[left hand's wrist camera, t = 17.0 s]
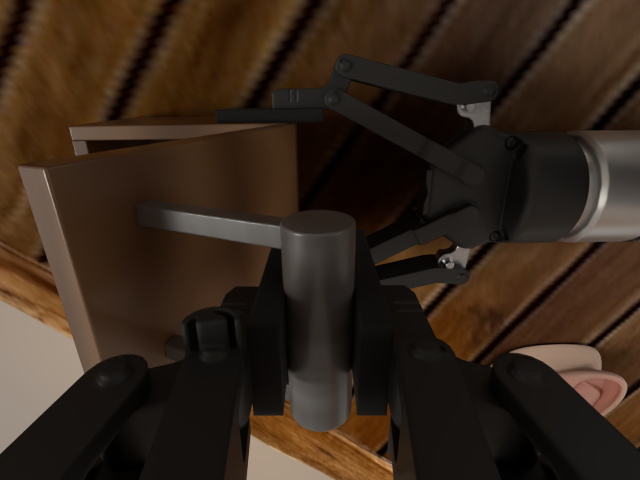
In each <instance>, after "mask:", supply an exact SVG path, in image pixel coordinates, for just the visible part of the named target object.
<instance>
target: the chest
mask: <svg viewBox="0 0 640 480" xmlns="http://www.w3.org/2000/svg"><path fill="white" fill-rule="evenodd" d="M275 124H294V125H295V138H296V165H297V192H298V212H300V196H299V167H298V139H297V122H290V123H288V122H268V123H217V118H216V116H170V117H135V118H128V119H120V120H113V121H105V122H98V123H90V124H83V125H75V126H70V127H69V129H70V133H71V137H72V140H74V141H72V142H73V146H74V150H75V154H76V156H78V155H84V154H91V153H97V152H103V151H110V150H116V149H122V148H129V147H135V146H142V145H148V144H154V143H161V142H167V141H173V140H180V139H186V138H192V137H199V136H205V135H212V134H218V133H224V132H231V131H237V130H243V129H250V128H256V127H262V126H269V125H275Z"/></svg>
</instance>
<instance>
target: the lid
mask: <svg viewBox="0 0 640 480" xmlns="http://www.w3.org/2000/svg"><path fill="white" fill-rule="evenodd" d="M18 169H19V172H20V175H21V178H22V182H23V185H24V188H25V191H26V194H27V197H28V200H29V203H30V206H31V209H32V212H33V216H34V219H35V222H36V225H37V228H38V231H39V234H40V237H41V240H42V243H43V246H44V250H45V253H46V256H47V259H48V262H49V265H50V268H51V271H52V274H53V277H54V280H55V283H56V287H57V290H58V293H59V296H60V299H61V302H62V305H63V308H64V311H65V314H66V317H67V321H68V324H69V327H70V330H71V333H72V336H73V339H74V342H75V345H76V348H77V351H78V354H79V358H80V361H81V364H82V367H83V370H84V373H86V372H87V371H88V370H89V369H91V368H92V367H93V366H95V365H96V364H97V363H99V362H102V361H104V360H106V359H108V358H111V357H114V356H118V355H124V354H135V355H138V356H142V357H143V358H144V359H145V360H146V361H147V363H148V368H153V367H157V366H162V365H166V364H171V363H174V362H177V361H180V360H182V359H184V356H185V348H184V342H183V336H182V330H181V322H182V321H183V320H184V319H185V317H187V316H188V315H190V314H191V313H193V312H195V311H198V310H201V309H203V308H209V307H215V306H216V307H220V306H221V303H222V301H223V299H224V297H225V295H226V294H227V293H228V292H229V291H231V290H232V289H233V288H234V287H236V286H259V284H260V281H261V278H262V275H263V272H264V269H265V266H266V262H267V259H268V256H269V253H270V250H271V248H277V249H281V256H282V273H283V288H284V291H285V306H286V328H287V349H288V376H287V385H286V394H285V399H286V400H289V401H290V409H291V414H292V416H293V418H294V419H295V421H296V422H297V423H298V424H299V425H301V426H302V427H304V428H306V429H308V430H311V431H317V432H325V431H330V430H333V429H335V428H337V427H339V426H341V425H342V424H343V423H344V422H345V421H346V420H347V418H348V417H349V415H350V412H351V401H352V351H353V322H354V282H355V243H356V222H355V219H354V218H353V217H352V216H350V215H348V214H345V213H341V212H337V211H331V210H308V211H301V212H298V192H297V165H296V138H295V125H294V124H275V125H269V126H262V127H256V128H250V129H243V130H237V131H231V132H224V133H218V134H212V135H205V136H199V137H192V138H186V139H180V140H173V141H167V142H161V143H154V144H148V145H142V146H135V147H129V148H122V149H116V150H110V151H103V152H97V153H91V154H84V155H78V156H72V157H65V158H59V159H53V160H46V161H40V162H33V163H27V164H21V165H19V166H18Z"/></svg>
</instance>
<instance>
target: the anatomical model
mask: <svg viewBox="0 0 640 480" xmlns="http://www.w3.org/2000/svg"><path fill="white" fill-rule="evenodd" d="M509 353H520V354H524V355H528V356H532V357H534V358H536V359H538V360H540V361H543V362H544V363H546V364H547V365H548V366H550V367H551V368H552V369H554V370H555V371H556V372H557V373H558V374H559V375H560V376H561V377H562V378H563V379H564V380H565V381H566V382H567V383H568V384H570V385H571V386H572V387H573V388H574V389H575V390H576V391H577V392H578V393H579V394H580V395H581V396H582V397H583V398H584V399H585V400H586V401H587V402H588V403H590V404H591V405H592V406H593V407H594V408H595V409H596V410H597V411H598V412H599V413H600V414H601V415H602V416H604V415H606V414H607V413H608V412H610V411H611V410H612V409H614V408H615V407H616V406H617V405H618V404H619V403H620V402H621V400H622V399H623V398H624V396H625V394H626V391H627V383H626V381H625V380H624V379H623V378H622V377H621V376H619V375H617V374H615V373H612V372H608V371H604V370H601V367H602V363H601V356H600V354H599V352H598V351H597V350H596V349H594V348H592V347H590V346H585V345H576V344H553V345H539V346H531V347H525V348H520V349H516V350H513V351H511V352H509ZM492 365H493V364H492ZM492 365H491V366H490V367H492Z"/></svg>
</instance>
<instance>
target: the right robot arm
mask: <svg viewBox="0 0 640 480" xmlns="http://www.w3.org/2000/svg"><path fill="white" fill-rule="evenodd" d="M351 81H354V82H358V83H362V84H366V85H370V86H374V87H378V88H381V89H385V90H389V91H393V92H397V93H401V94H405V95H409V96H413V97H417V98H420V99H424V100H428V101H432V102H437V103H443V104H453V106H452V108H453V112H454V113H455V115H457V116H461V117H464V118H466V119H467V120H468V123H469V126H468V127H466V128H465V129H463V130H462V131H461V132H459V133H458V134H456V135H455V136H453V137H452V138H450V139H449V140H448V141H446V142H445V143H443V144H442V145H440V144H438V143H436V142H434V141H432V140H430V139H428V138H426V137H425V136H423V135H421V134H419V133H417V132H416V131H414V130H412V129H410V128H408V127H406V126H405V125H403V124H401V123H399V122H397V121H396V120H394V119H392V118H390V117H388V116H387V115H385V114H383V113H381V112H379V111H378V110H376V109H374V108H372V107H370V106H368V105H367V104H365V103H363V102H361V101H359V100H358V99H356V98H354V97H352V96H350V95H349V94H347V91H348V88H349V85H350V82H351ZM498 94H499V85H498V83H497V82H495V81H494V80H485V81H473V82H465V83H456V82H452V81H448V80H444V79H441V78H437V77H433V76H429V75H425V74H422V73H418V72H414V71H410V70H406V69H403V68H399V67H395V66H391V65H387V64H383V63H380V62H376V61H372V60H368V59H364V58H361V57H357V56H353V55H349V54H344V55H341V56H340V57H339V58H338V59H337V61H336V63H335V66H334V69H333V72H332V75H331V78H330V81H329V83H328V84H327V85H326V86H324V87H322V88H307V89H279V90H276V91H274V92H272V104H273V108H242V109H222V110H216V118H217V123H268V122H288V123H290V122H324V120H323V109H332V110H334V111H335V112H337V113H339V114H341V115H343V116H345V117H347V118H348V119H350V120H352V121H354V122H356V123H358V124H360V125H361V126H363V127H365V128H367V129H369V130H371V131H372V132H374V133H376V134H378V135H380V136H382V137H384V138H385V139H387V140H389V141H391V142H393V143H395V144H397V145H398V146H400V147H402V148H404V149H406V150H408V151H409V152H411V153H413V154H415V155H417V156H419V157H420V158H422V159H424V161H423V162H422V164H419V174H418V175H419V181H420V188H419V191H418V194H417V197H416V208H417V209H416V210H414V211H412V212H410V213H408V214H406V215H405V216H404V218H403V219H401V220H399V221H397V222H395V223H393V224H391V225H389V226H387V227H385V228H383V229H381V230H379V231H377V232H375V233H373V234H371V235H369V236H367V237H366V239H367V242H368V245H369V249H370V252H371V255H372V258H373V261H374V264H376V263H378V262H380V261H382V260H385V259H387V258H389V257H391V256H393V255H395V254H397V253H399V252H401V251H404V250H406V249H408V248H410V247H412V246H414V245H417V244H419V245H422V244H426V243H428V242H430V241H432V240H435V239H437V238H439V237H441V236H444V237H446V238H447V239H448V240H450V241H451V242H453V244H452V245H451V246H450V247H449V248H447V249H439V250H438V251H437V253H436V254H429V255H421V256H417V257H412V258H408V259H404V260H399V261H395V262H391V263H387V264H382V265H378V266H375V267H376V271H377V274H378V277H379V280H380V283H381V285H405V286H406V287H408V288H409V289H410V288H415V287H419V286H424V285H428V284H433V283H449V284H464V283H466V282H467V281H468V280H469V278H470V274H469V272H468V271H467V270H466V268H465V267H466V263H467V260H468V256H469V252H470V248H474V247H476V246H478V245H480V244H483V243H486V242H501V243H530V242H554V241H557V240H558V241H561V242H605V241H640V130H598V131H570V132H567V133H566V132H563V131H499V130H497V129H495V128H494V127H492V126H490V109H491V101H493V100H494V99H495V98H496V97H497V96H498Z"/></svg>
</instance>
